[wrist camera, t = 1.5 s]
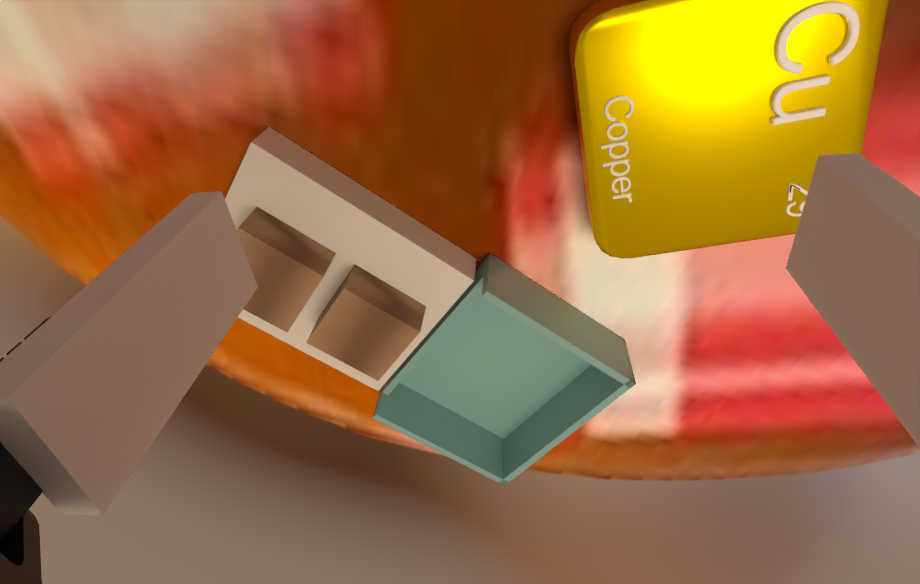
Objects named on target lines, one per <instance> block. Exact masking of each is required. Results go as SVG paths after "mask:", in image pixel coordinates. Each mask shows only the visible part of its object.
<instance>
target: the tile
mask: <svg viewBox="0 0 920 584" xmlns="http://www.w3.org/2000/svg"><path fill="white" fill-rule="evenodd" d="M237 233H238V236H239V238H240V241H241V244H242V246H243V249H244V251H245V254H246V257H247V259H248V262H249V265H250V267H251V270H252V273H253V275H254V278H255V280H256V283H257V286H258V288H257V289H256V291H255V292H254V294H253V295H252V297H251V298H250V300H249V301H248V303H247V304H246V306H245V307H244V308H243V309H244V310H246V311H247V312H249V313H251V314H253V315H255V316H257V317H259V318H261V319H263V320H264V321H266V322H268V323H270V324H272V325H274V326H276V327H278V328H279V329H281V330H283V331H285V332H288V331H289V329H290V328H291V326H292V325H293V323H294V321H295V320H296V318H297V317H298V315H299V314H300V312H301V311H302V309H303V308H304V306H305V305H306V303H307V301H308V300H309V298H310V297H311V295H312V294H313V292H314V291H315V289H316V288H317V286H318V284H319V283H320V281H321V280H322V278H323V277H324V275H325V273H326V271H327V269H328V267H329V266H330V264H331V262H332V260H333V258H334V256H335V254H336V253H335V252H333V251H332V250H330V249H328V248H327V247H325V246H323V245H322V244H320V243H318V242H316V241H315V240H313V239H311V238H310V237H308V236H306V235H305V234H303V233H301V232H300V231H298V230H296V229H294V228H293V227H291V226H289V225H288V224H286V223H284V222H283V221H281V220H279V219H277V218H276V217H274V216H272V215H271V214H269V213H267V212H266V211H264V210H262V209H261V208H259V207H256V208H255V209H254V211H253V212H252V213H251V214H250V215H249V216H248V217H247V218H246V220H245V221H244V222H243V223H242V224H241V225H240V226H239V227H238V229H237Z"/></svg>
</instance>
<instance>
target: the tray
mask: <svg viewBox="0 0 920 584" xmlns="http://www.w3.org/2000/svg"><path fill="white" fill-rule="evenodd" d="M635 384H636V382H635V378H634V374H633V370H632V366H631V362H630V358H629V354H628V350H627V346H626V342H625V340H624V339H623V338H621V337H620V336H618V335H616V334H615V333H613V332H612V331H610V330H609V329H607V328H606V327H604V326H602V325H601V324H599V323H598V322H596V321H595V320H593V319H592V318H590V317H588V316H587V315H585V314H584V313H582V312H581V311H579V310H578V309H576V308H575V307H573V306H571V305H570V304H568V303H567V302H565V301H564V300H562V299H561V298H559V297H557V296H556V295H554V294H553V293H551V292H550V291H548V290H547V289H545V288H544V287H542V286H540V285H539V284H537V283H536V282H534V281H533V280H531V279H530V278H528V277H526V276H525V275H523V274H522V273H520V272H519V271H517V270H516V269H514V268H512V267H511V266H509V265H508V264H506V263H505V262H503V261H502V260H500V259H499V258H497V257H495V256H494V255H492V254H491V253H489V255H488V256H487V257H486V258H485V259H484V260H483V262H482V263H481V264H480V265H479V266H478V267H477V269H476V270H475V277H474V281H473V283H472V284H471V285H470V286H469V287H468V288H467V289H466V291H465V292H464V293H463V294H462V295H461V296H460V297H459V299H458V300H457V301H456V302H455V303H454V304H453V306H452V307H451V308H450V309H449V310H448V311H447V312H446V314H445V315H444V316H443V317H442V318H441V319H440V321H439V322H438V323H437V324H436V325H435V326H434V327H433V329H432V330H431V331H430V332H429V333H428V334H427V335H426V337H425V338H424V339H423V340H422V341H421V342H420V344H419V345H418V346H417V347H416V348H415V349H414V350H413V352H412V353H411V354H410V355H409V356H408V357H407V359H406V360H405V361H404V362H403V363H402V364H401V365H400V367H399V368H398V369H397V370H396V371H395V372H394V373H393V375H392V376H391V377H390V378H389V379H388V380H387V382H386V383H385V384H384V385H383V386H382V387H381V390H380V394H379V397H378V401H377V404H376V408H375V411H374V414H373V419H375V420H377V421H379V422H381V423H383V424H385V425H387V426H389V427H391V428H393V429H395V430H396V431H398V432H400V433H402V434H404V435H406V436H408V437H410V438H412V439H414V440H416V441H418V442H420V443H422V444H424V445H426V446H428V447H430V448H432V449H434V450H436V451H438V452H440V453H442V454H444V455H446V456H447V457H449V458H451V459H453V460H455V461H457V462H459V463H461V464H463V465H465V466H467V467H469V468H471V469H473V470H475V471H477V472H479V473H481V474H483V475H485V476H487V477H489V478H491V479H493V480H495V481H497V482H499V483H500V484H502V485H506V484H507V483H508V482H510V481H511V480H512V479H514V478H515V477H516V476H517V475H519V474H520V473H521V472H523V471H524V470H525V469H527V468H528V467H529V466H530V465H532V464H533V463H534V462H536V461H537V460H538V459H539V458H541V457H542V456H543V455H545V454H546V453H547V452H548V451H550V450H551V449H552V448H554V447H555V446H556V445H558V444H559V443H560V442H561V441H563V440H564V439H565V438H567V437H568V436H569V435H570V434H572V433H573V432H574V431H576V430H577V429H578V428H579V427H581V426H582V425H583V424H585V423H586V422H587V421H588V420H590V419H591V418H592V417H594V416H595V415H596V414H598V413H599V412H600V411H601V410H603V409H604V408H605V407H607V406H608V405H609V404H610V403H612V402H613V401H614V400H616V399H617V398H618V397H619V396H621V395H622V394H623V393H625V392H626V391H627V390H629V389H630V388H631V387H632V386H634V385H635Z"/></svg>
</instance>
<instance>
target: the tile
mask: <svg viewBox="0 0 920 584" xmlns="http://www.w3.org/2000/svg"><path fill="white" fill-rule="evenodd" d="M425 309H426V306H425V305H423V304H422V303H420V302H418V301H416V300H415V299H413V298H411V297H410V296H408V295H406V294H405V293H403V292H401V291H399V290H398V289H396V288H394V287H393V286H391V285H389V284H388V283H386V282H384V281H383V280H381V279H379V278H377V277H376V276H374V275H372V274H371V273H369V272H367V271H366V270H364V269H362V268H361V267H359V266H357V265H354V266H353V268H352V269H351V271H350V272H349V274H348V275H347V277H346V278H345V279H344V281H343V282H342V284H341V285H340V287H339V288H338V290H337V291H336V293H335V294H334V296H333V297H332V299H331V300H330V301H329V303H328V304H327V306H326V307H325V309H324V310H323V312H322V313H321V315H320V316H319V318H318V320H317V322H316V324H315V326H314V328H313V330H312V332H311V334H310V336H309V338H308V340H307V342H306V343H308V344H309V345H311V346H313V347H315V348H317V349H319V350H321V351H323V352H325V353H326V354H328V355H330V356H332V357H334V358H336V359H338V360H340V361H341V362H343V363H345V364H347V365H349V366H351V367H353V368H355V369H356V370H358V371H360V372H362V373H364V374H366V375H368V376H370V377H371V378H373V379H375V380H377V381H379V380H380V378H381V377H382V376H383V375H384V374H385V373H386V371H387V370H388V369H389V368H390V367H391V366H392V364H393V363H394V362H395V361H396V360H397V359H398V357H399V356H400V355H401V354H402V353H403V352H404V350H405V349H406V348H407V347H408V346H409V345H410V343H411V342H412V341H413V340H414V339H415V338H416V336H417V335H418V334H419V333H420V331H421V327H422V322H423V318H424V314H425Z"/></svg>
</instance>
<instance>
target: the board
mask: <svg viewBox="0 0 920 584" xmlns="http://www.w3.org/2000/svg"><path fill="white" fill-rule="evenodd" d="M225 201H226V204H227V207H228V209H229V212H230V215H231V217H232V220H233V222H234V225H235V228H236V230H237V229H238V227H239V226H240V225H241V224H242V223H243V222H244V221H245V220H246V218H247V217H248V216H249V215H250V214H251V213H252V212H253V211H254V209H255V208H256V207H259V208H261V209H262V210H264V211H266V212H267V213H269V214H271V215H272V216H274V217H276V218H277V219H279V220H281V221H283V222H284V223H286V224H288V225H289V226H291V227H293V228H294V229H296V230H298V231H300V232H301V233H303V234H305V235H306V236H308V237H310V238H311V239H313V240H315V241H316V242H318V243H320V244H322V245H323V246H325V247H327V248H328V249H330V250H332V251H333V252H335V253H336V254H335V256H334V258H333V260H332V262H331V264H330V266H329V267H328V269H327V271H326V273H325V275H324V277H323V278H322V280H321V281H320V283H319V284H318V286H317V288H316V289H315V291H314V292H313V294H312V295H311V297H310V298H309V300H308V301H307V303H306V305H305V306H304V308H303V309H302V311H301V312H300V314H299V315H298V317H297V318H296V320H295V321H294V323H293V325H292V326H291V328H290V329H289V331H288V332H285V331H283V330H281V329H279V328H278V327H276V326H274V325H272V324H270V323H268V322H266V321H264V320H263V319H261V318H259V317H257V316H255V315H253V314H251V313H249V312H247V311H246V310H244V309H243V310H242V311H241V313H240V314H239V316H238V318H240V319H242V320H244V321H246V322H248V323H250V324H252V325H254V326H255V327H257V328H259V329H261V330H263V331H265V332H267V333H269V334H271V335H273V336H274V337H276V338H278V339H280V340H282V341H284V342H286V343H288V344H290V345H292V346H293V347H295V348H297V349H299V350H301V351H303V352H305V353H307V354H309V355H311V356H312V357H314V358H316V359H318V360H320V361H322V362H324V363H326V364H328V365H330V366H331V367H333V368H335V369H337V370H339V371H341V372H343V373H345V374H347V375H349V376H350V377H352V378H354V379H356V380H358V381H360V382H362V383H364V384H366V385H367V386H369V387H371V388H373V389H375V390H377V391H379V390H380V388H381V387H382V386H383V385H384V384H385V383H386V382H387V380H388V379H389V378H390V377H391V376H392V375H393V373H394V372H395V371H396V370H397V369H398V368H399V367H400V365H401V364H402V363H403V362H404V361H405V360H406V359H407V357H408V356H409V355H410V354H411V353H412V352H413V350H414V349H415V348H416V347H417V346H418V345H419V344H420V342H421V341H422V340H423V339H424V338H425V337H426V335H427V334H428V333H429V332H430V331H431V330H432V329H433V327H434V326H435V325H436V324H437V323H438V322H439V321H440V319H441V318H442V317H443V316H444V315H445V314H446V312H447V311H448V310H449V309H450V308H451V307H452V306H453V304H454V303H455V302H456V301H457V300H458V299H459V297H460V296H461V295H462V294H463V293H464V292H465V291H466V289H467V288H468V287H469V286H470V285H471V284H472V283H473V281H474V277H475V269H476V260H477V259H476V258H475V257H473V256H472V255H470V254H469V253H467V252H465V251H464V250H462V249H461V248H459V247H458V246H456V245H454V244H453V243H451V242H450V241H448V240H447V239H445V238H443V237H442V236H440V235H439V234H437V233H436V232H434V231H432V230H431V229H429V228H428V227H426V226H425V225H423V224H421V223H420V222H418V221H417V220H415V219H414V218H412V217H410V216H409V215H407V214H406V213H404V212H403V211H401V210H399V209H398V208H396V207H395V206H393V205H392V204H390V203H388V202H387V201H385V200H384V199H382V198H381V197H379V196H377V195H376V194H374V193H373V192H371V191H370V190H368V189H366V188H365V187H363V186H362V185H360V184H359V183H357V182H355V181H354V180H352V179H351V178H349V177H348V176H346V175H344V174H343V173H341V172H340V171H338V170H337V169H335V168H333V167H332V166H330V165H329V164H327V163H326V162H324V161H322V160H321V159H319V158H318V157H316V156H315V155H313V154H311V153H310V152H308V151H307V150H305V149H304V148H302V147H300V146H299V145H297V144H296V143H294V142H293V141H291V140H289V139H288V138H286V137H285V136H283V135H282V134H280V133H278V132H277V131H275V130H274V129H272V128H271V127H268V128H267V129H266V130H265V131H264V132H262V133H261V134H260V135H259V136H258V137H257V138H255V139H254V140H253V141H252V142H251V144H250V146H249V148H248V150H247V152H246V154H245V157H244V159H243V161H242V163H241V165H240V168H239V170H238V172H237V174H236V176H235V178H234V181H233V183H232V185H231V187H230V189H229V192H228V194H227V196H226V198H225ZM354 265H357V266H359V267H361V268H362V269H364V270H366V271H367V272H369V273H371V274H372V275H374V276H376V277H377V278H379V279H381V280H383V281H384V282H386V283H388V284H389V285H391V286H393V287H394V288H396V289H398V290H399V291H401V292H403V293H405V294H406V295H408V296H410V297H411V298H413V299H415V300H416V301H418V302H420V303H422V304H423V305H425V306H426V309H425V314H424V318H423V322H422V327H421V331H420V333H419V334H418V335H417V336H416V338H415V339H414V340H413V341H412V342H411V343H410V345H409V346H408V347H407V348H406V349H405V350H404V352H403V353H402V354H401V355H400V356H399V357H398V359H397V360H396V361H395V362H394V363H393V364H392V366H391V367H390V368H389V369H388V370H387V371H386V373H385V374H384V375H383V376H382V377H381V378H380V380H379V381H377V380H375V379H373V378H371V377H370V376H368V375H366V374H364V373H362V372H360V371H358V370H356V369H355V368H353V367H351V366H349V365H347V364H345V363H343V362H341V361H340V360H338V359H336V358H334V357H332V356H330V355H328V354H326V353H325V352H323V351H321V350H319V349H317V348H315V347H313V346H311V345H309V344H308V343H306V342H307V340H308V338H309V336H310V334H311V332H312V330H313V328H314V326H315V324H316V322H317V320H318V318H319V316H320V315H321V313H322V312H323V310H324V309H325V307H326V306H327V304H328V303H329V301H330V300H331V299H332V297H333V296H334V294H335V293H336V291H337V290H338V288H339V287H340V285H341V284H342V282H343V281H344V279H345V278H346V277H347V275H348V274H349V272H350V271H351V269H352V268H353V266H354Z"/></svg>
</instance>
